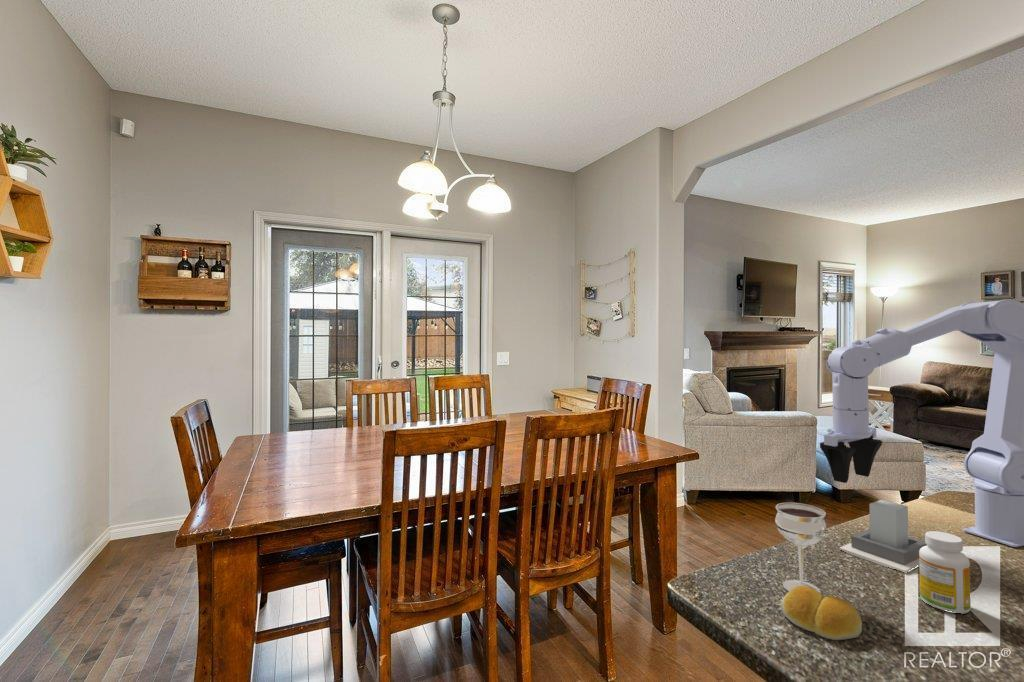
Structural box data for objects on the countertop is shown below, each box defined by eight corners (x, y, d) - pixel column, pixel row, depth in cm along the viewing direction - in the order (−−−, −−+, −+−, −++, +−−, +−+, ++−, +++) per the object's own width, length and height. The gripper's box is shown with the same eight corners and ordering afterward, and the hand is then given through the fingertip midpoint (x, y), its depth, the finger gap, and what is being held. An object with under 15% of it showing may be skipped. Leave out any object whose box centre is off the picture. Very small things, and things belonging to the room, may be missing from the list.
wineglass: (800, 603, 70) (799, 520, 70) (766, 580, 77) (764, 504, 77) (839, 596, 72) (837, 515, 72) (802, 574, 78) (800, 500, 78)
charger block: (882, 543, 88) (881, 499, 88) (908, 552, 84) (907, 506, 84) (870, 548, 86) (869, 503, 86) (896, 557, 82) (895, 510, 82)
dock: (875, 536, 92) (874, 522, 92) (940, 556, 83) (940, 542, 83) (839, 550, 87) (839, 536, 87) (905, 573, 78) (905, 558, 78)
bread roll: (853, 652, 60) (853, 619, 60) (775, 621, 66) (774, 592, 66) (869, 624, 65) (869, 594, 65) (796, 598, 72) (795, 571, 72)
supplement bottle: (950, 594, 71) (949, 529, 71) (981, 616, 66) (980, 544, 66) (910, 593, 72) (909, 528, 72) (938, 614, 67) (937, 544, 67)
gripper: (849, 403, 101) (850, 468, 101) (807, 409, 95) (808, 479, 95) (887, 407, 95) (889, 476, 95) (846, 414, 88) (847, 488, 88)
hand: (851, 478), depth 94 cm, fingers open, 7 cm apart
